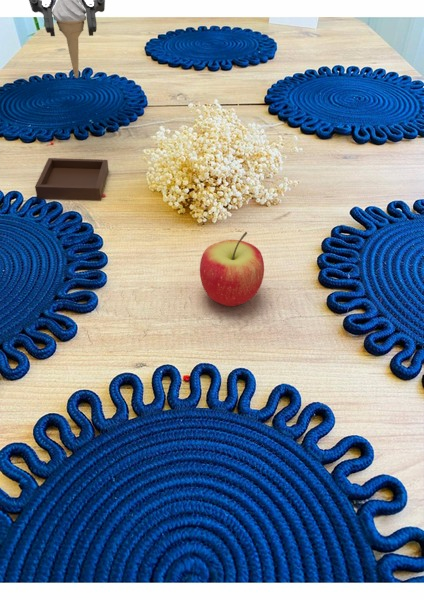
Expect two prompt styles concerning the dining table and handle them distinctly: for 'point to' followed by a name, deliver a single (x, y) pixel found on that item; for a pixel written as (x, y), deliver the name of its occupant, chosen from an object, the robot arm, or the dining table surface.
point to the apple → (231, 271)
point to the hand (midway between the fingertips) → (72, 33)
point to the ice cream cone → (70, 26)
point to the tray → (72, 179)
